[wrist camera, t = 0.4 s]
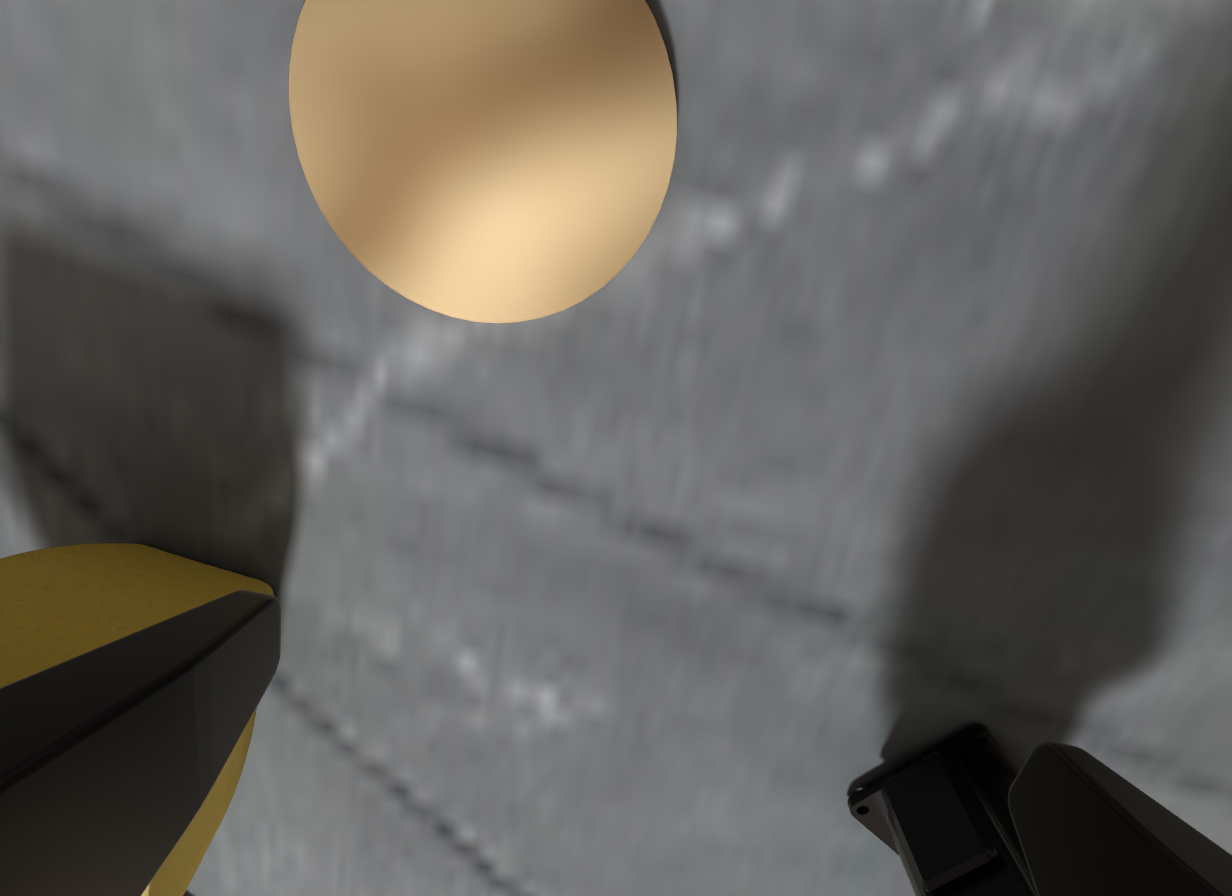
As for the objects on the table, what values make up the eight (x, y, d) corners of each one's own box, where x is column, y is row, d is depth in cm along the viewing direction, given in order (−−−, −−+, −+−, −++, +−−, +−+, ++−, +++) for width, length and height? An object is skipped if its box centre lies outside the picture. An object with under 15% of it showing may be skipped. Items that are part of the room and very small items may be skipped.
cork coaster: (753, 135, 17) (757, 133, 16) (503, 385, 20) (500, 391, 19) (467, -220, 14) (460, -236, 14) (226, 129, 17) (213, 127, 16)
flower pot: (71, 667, 24) (-215, 916, 16) (76, 476, 21) (-280, 664, 13) (298, 728, 25) (138, 991, 17) (335, 554, 22) (160, 775, 14)
